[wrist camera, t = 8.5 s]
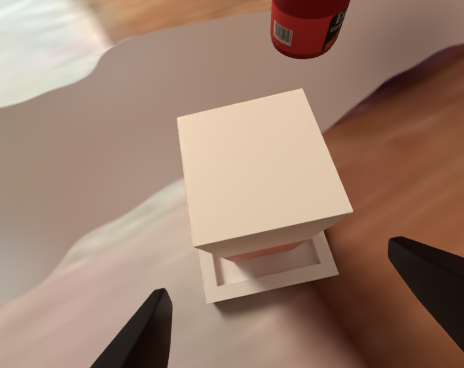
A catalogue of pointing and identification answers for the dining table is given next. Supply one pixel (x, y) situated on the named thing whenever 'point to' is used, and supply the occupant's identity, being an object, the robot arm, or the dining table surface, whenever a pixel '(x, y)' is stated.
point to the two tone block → (258, 177)
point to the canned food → (306, 26)
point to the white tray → (266, 270)
